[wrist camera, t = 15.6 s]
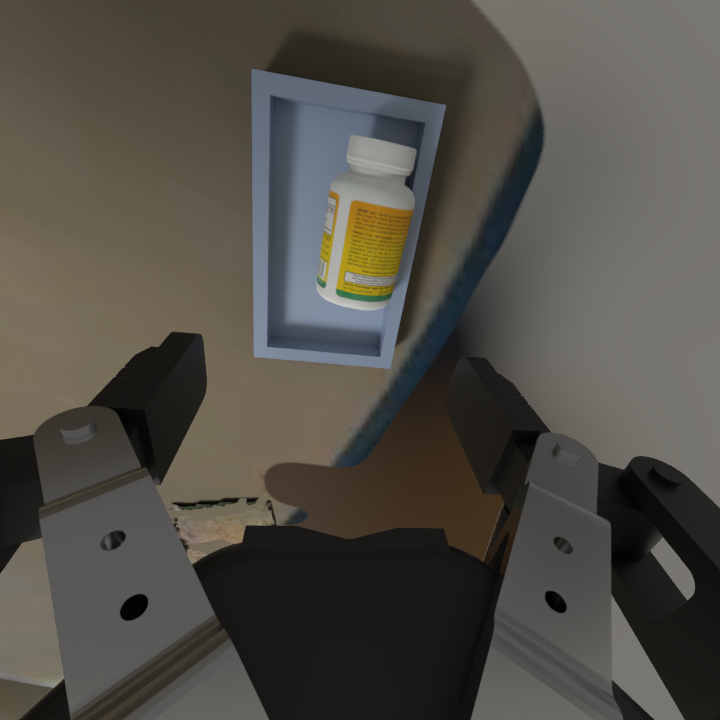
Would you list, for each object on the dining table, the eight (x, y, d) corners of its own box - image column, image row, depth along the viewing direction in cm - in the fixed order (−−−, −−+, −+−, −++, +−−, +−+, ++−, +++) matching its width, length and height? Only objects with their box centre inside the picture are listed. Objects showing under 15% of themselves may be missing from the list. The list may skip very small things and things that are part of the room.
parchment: (270, 492, 40) (269, 500, 39) (285, 559, 47) (284, 566, 46) (159, 500, 40) (155, 508, 39) (190, 566, 46) (187, 574, 45)
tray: (386, 354, 31) (390, 368, 29) (259, 342, 30) (253, 356, 28) (435, 109, 23) (446, 105, 20) (259, 77, 21) (251, 68, 19)
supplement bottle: (299, 289, 24) (317, 126, 20) (348, 280, 28) (372, 142, 24) (359, 318, 22) (396, 140, 17) (403, 304, 26) (443, 155, 21)
